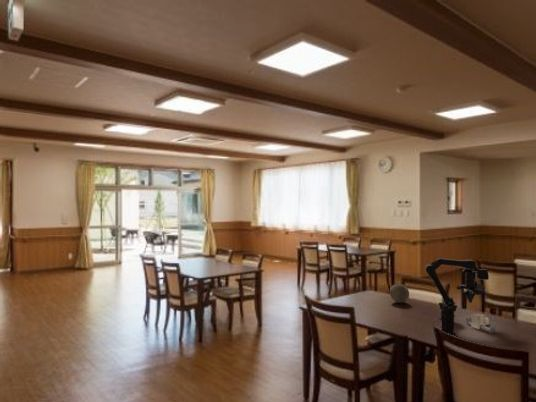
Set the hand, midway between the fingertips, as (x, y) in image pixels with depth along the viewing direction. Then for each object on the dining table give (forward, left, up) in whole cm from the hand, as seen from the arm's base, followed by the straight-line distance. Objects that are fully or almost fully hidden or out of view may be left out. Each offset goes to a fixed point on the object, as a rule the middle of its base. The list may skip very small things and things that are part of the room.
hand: (470, 302), depth 267 cm
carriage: (-4, -10, -13) cm, 17 cm away
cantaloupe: (-15, +56, -13) cm, 59 cm away
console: (+5, -4, -13) cm, 15 cm away
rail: (-4, -12, -13) cm, 18 cm away
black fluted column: (-37, -22, -13) cm, 45 cm away
